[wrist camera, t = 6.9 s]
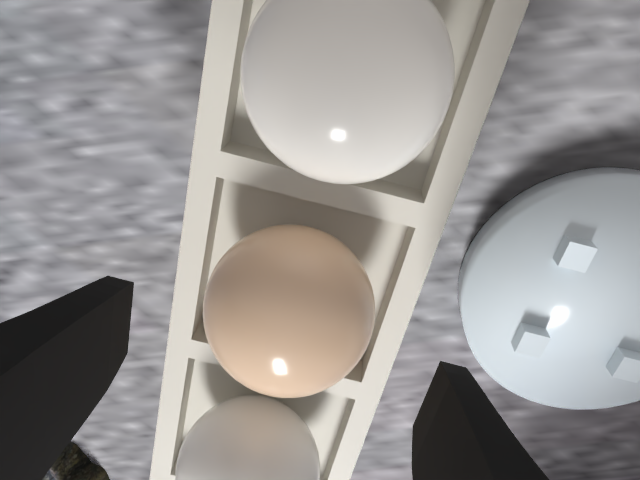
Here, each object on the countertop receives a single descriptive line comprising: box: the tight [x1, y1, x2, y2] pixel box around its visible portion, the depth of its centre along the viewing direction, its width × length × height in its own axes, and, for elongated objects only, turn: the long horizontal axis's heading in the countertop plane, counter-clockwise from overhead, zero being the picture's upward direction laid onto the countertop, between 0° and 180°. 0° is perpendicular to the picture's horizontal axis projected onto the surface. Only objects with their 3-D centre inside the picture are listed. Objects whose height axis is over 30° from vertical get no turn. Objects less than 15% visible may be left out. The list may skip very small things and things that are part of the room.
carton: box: [150, 0, 530, 480], centre depth 16 cm, size 7×19×3 cm, turn 167°
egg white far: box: [175, 395, 320, 480], centre depth 16 cm, size 4×4×4 cm
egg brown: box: [203, 224, 375, 398], centre depth 14 cm, size 4×4×4 cm
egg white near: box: [240, 0, 455, 184], centre depth 11 cm, size 4×4×4 cm
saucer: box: [457, 167, 640, 409], centre depth 16 cm, size 8×8×2 cm
